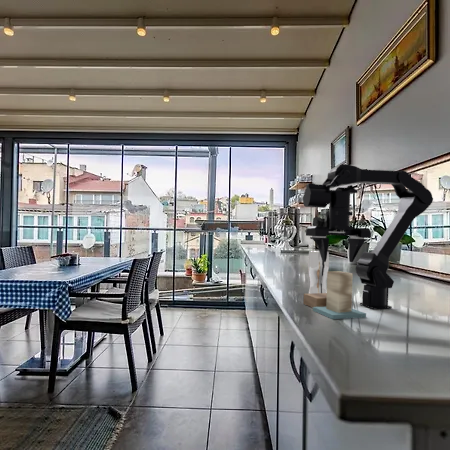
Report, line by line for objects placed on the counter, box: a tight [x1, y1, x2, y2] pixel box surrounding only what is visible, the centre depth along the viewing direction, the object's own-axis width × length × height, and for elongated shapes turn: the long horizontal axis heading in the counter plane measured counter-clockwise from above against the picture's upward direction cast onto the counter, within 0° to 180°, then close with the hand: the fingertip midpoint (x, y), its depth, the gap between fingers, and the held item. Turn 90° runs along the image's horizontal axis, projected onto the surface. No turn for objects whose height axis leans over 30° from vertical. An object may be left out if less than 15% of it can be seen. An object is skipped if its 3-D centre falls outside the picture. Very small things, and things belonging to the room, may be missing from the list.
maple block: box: [326, 270, 354, 313], centre depth 92 cm, size 4×4×10 cm
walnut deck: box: [302, 292, 327, 309], centre depth 101 cm, size 8×7×3 cm
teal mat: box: [312, 307, 367, 320], centre depth 91 cm, size 10×9×1 cm
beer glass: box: [307, 250, 330, 294], centre depth 119 cm, size 7×7×15 cm
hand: (337, 261), depth 101 cm, fingers open, 9 cm apart
